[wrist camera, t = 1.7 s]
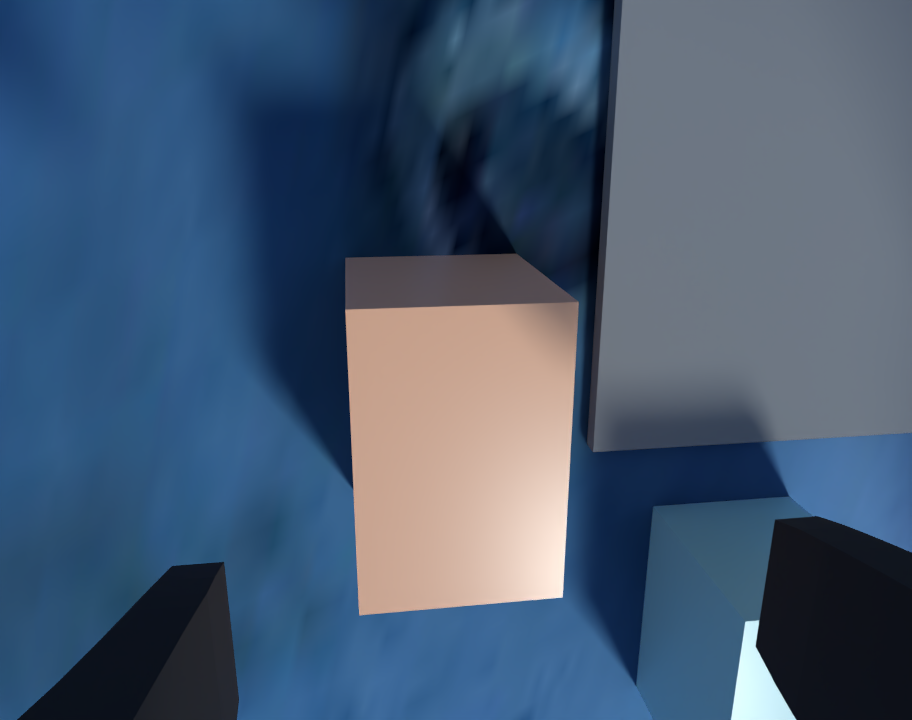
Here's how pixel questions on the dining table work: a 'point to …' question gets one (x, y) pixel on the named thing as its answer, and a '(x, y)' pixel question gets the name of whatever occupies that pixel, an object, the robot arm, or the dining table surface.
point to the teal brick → (709, 611)
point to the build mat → (755, 224)
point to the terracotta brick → (458, 429)
